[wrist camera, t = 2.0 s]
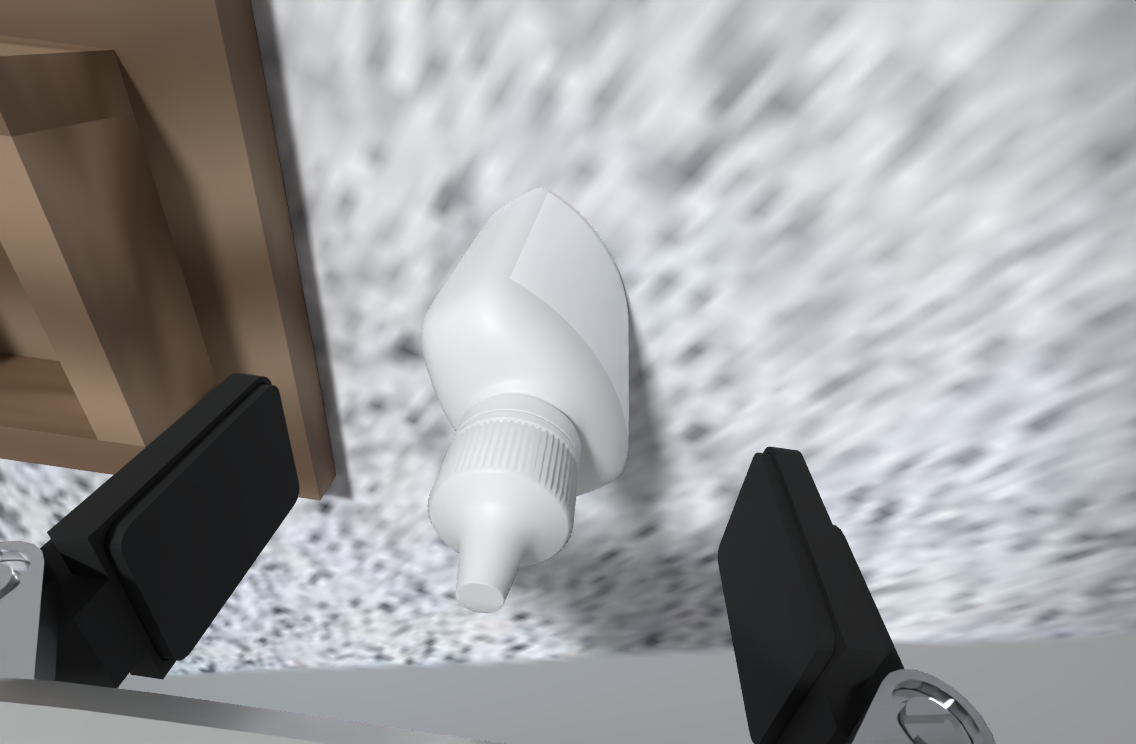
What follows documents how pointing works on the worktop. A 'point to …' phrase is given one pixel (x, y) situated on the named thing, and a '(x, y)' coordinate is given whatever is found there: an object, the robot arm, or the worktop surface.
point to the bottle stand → (142, 232)
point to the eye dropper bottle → (525, 389)
